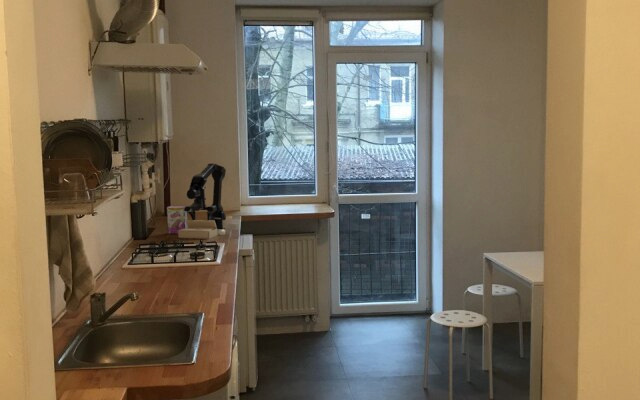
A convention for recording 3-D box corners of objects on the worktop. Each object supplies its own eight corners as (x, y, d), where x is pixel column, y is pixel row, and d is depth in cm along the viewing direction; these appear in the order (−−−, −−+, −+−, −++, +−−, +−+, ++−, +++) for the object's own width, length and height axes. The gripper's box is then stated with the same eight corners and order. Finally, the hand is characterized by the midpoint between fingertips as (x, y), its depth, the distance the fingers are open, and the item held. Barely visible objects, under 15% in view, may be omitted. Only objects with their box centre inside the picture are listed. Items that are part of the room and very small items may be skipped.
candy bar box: (167, 234, 407) (166, 207, 405) (170, 232, 412) (169, 206, 410) (185, 234, 406) (184, 207, 404) (188, 232, 411) (186, 206, 409)
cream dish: (216, 233, 406) (216, 229, 406) (227, 233, 404) (226, 229, 404) (211, 235, 400) (211, 230, 399) (222, 235, 398) (222, 231, 397)
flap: (188, 227, 403) (188, 226, 403) (216, 228, 397) (216, 227, 398) (185, 220, 400) (186, 220, 400) (214, 221, 395) (214, 220, 395)
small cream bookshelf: (187, 234, 404) (187, 226, 403) (218, 235, 398) (217, 227, 397) (177, 238, 392) (177, 230, 392) (209, 238, 387) (208, 230, 386)
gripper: (179, 198, 392) (180, 225, 394) (208, 198, 387) (209, 225, 389) (188, 196, 403) (189, 221, 405) (216, 196, 397) (218, 222, 399)
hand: (201, 222), depth 399 cm, fingers open, 9 cm apart
